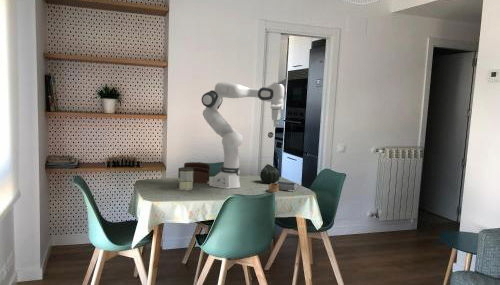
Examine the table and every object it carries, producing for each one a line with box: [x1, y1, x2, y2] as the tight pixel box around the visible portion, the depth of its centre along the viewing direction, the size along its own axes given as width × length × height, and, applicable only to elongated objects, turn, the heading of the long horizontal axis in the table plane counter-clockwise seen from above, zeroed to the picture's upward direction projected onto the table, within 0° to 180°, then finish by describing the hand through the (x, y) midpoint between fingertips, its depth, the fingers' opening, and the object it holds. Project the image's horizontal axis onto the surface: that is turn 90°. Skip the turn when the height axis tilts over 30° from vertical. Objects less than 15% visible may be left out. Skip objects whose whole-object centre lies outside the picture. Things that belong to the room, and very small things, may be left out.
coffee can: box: [177, 166, 194, 191], centre depth 279 cm, size 10×10×14 cm
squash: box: [259, 163, 280, 184], centre depth 317 cm, size 14×15×15 cm
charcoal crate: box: [275, 180, 298, 191], centre depth 297 cm, size 15×13×4 cm
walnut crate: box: [268, 183, 280, 193], centre depth 287 cm, size 6×9×5 cm, turn 164°
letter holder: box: [183, 161, 211, 185], centre depth 306 cm, size 10×20×14 cm, turn 85°
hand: (275, 126), depth 283 cm, fingers open, 8 cm apart
